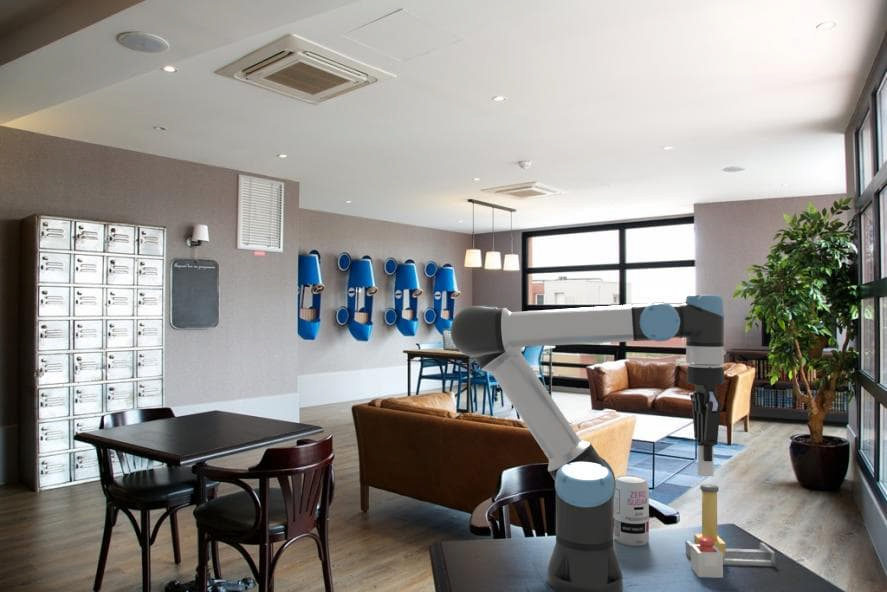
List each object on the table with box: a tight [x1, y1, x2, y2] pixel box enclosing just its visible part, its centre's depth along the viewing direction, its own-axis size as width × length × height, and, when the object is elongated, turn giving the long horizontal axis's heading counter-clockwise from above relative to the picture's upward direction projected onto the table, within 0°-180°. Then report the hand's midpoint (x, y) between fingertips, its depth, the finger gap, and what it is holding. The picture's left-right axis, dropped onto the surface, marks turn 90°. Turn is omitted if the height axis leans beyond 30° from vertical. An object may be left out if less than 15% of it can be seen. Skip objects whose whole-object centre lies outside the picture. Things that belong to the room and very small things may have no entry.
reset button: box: [698, 537, 715, 552], centre depth 134 cm, size 3×3×5 cm
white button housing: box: [690, 543, 724, 579], centre depth 134 cm, size 5×5×5 cm
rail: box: [685, 540, 776, 567], centre depth 141 cm, size 17×6×3 cm, turn 86°
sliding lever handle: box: [693, 483, 727, 557], centre depth 141 cm, size 5×6×15 cm
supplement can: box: [613, 474, 650, 547], centre depth 152 cm, size 8×8×15 cm
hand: (705, 475), depth 135 cm, fingers closed
